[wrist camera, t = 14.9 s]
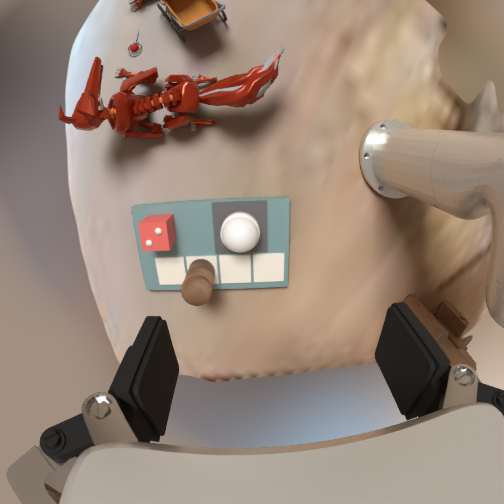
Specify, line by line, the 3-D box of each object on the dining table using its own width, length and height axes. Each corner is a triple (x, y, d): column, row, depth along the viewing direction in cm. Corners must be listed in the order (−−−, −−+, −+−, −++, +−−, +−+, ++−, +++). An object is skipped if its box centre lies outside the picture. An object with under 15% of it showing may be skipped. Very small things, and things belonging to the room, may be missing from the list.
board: (288, 196, 38) (295, 205, 33) (286, 282, 44) (291, 300, 39) (134, 205, 38) (119, 214, 33) (148, 286, 43) (138, 304, 38)
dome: (258, 209, 37) (260, 219, 33) (259, 245, 39) (261, 259, 35) (220, 211, 37) (217, 221, 33) (222, 246, 39) (220, 260, 35)
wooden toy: (451, 301, 48) (515, 371, 25) (438, 325, 50) (493, 398, 27) (407, 292, 46) (479, 381, 23) (392, 320, 48) (452, 413, 25)
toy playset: (116, -11, 23) (80, -46, 10) (275, -30, 23) (286, -79, 11) (103, 175, 36) (50, 194, 23) (275, 167, 37) (293, 181, 24)
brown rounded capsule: (214, 257, 40) (209, 283, 33) (216, 282, 42) (212, 311, 34) (186, 258, 40) (175, 283, 32) (189, 283, 41) (180, 312, 34)
